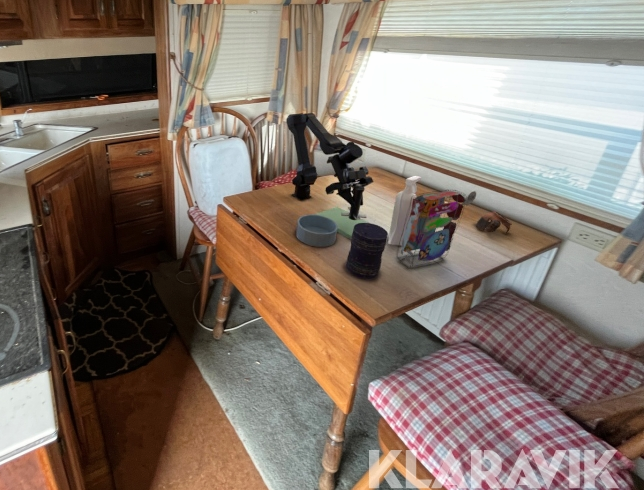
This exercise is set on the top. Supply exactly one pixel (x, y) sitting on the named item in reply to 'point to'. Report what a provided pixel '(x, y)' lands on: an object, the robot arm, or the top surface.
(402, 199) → the white pump bottle
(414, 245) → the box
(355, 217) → the black post stand
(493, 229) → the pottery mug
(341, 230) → the cutting board
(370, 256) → the storage jar
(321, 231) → the bowl
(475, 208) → the top surface
